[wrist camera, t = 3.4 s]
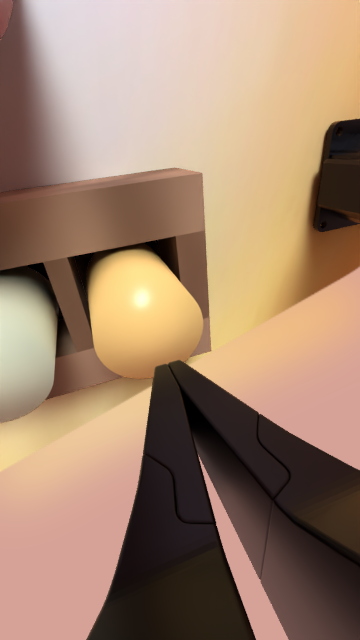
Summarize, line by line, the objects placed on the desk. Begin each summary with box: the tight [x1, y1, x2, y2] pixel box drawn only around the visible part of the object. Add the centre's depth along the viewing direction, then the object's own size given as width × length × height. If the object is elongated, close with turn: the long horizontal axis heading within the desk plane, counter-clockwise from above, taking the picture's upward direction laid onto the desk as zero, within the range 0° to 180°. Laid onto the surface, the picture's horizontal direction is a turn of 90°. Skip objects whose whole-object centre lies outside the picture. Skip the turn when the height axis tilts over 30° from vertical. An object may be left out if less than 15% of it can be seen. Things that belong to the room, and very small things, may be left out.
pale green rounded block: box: [0, 266, 59, 423], centre depth 12 cm, size 4×4×6 cm
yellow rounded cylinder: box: [86, 243, 203, 379], centre depth 14 cm, size 4×4×6 cm
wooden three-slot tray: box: [0, 168, 211, 400], centre depth 15 cm, size 20×10×4 cm, turn 96°
